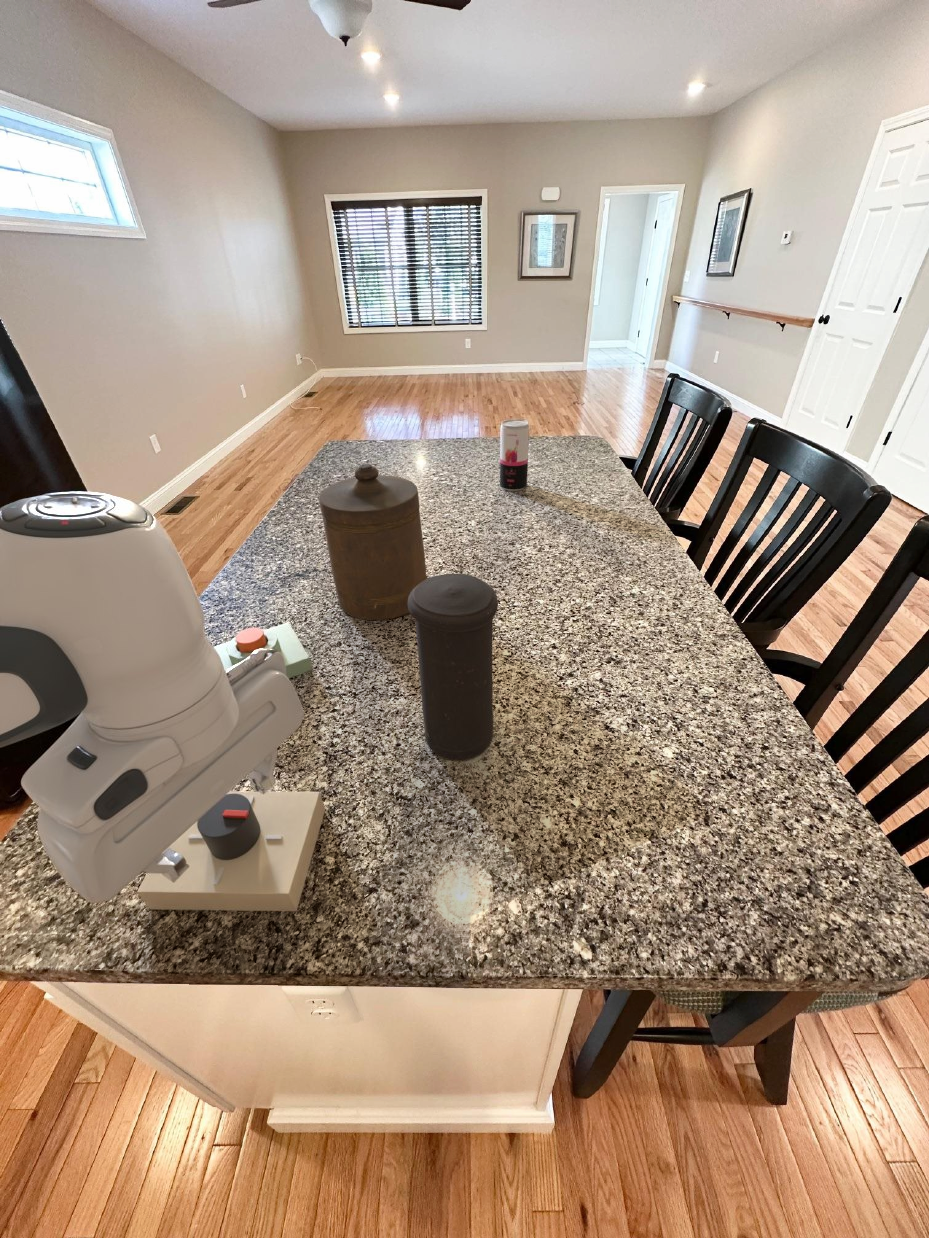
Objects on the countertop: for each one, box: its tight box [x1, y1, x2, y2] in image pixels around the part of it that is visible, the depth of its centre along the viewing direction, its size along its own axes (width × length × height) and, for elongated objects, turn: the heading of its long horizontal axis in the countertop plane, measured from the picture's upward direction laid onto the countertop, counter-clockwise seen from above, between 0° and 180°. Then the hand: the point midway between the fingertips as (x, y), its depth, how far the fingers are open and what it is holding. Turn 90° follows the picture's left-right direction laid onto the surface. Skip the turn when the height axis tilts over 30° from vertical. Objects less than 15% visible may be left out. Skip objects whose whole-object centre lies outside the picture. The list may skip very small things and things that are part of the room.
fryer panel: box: [136, 790, 326, 912], centre depth 48 cm, size 13×10×3 cm
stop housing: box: [213, 621, 313, 679], centre depth 71 cm, size 12×10×4 cm
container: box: [408, 573, 499, 762], centre depth 55 cm, size 9×9×20 cm
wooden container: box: [318, 463, 428, 621], centre depth 79 cm, size 15×15×22 cm
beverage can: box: [499, 418, 530, 492], centre depth 121 cm, size 6×6×15 cm
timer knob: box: [197, 793, 260, 860], centre depth 46 cm, size 4×4×4 cm
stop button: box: [234, 627, 267, 653], centre depth 69 cm, size 4×4×2 cm
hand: (223, 825), depth 45 cm, fingers open, 8 cm apart
